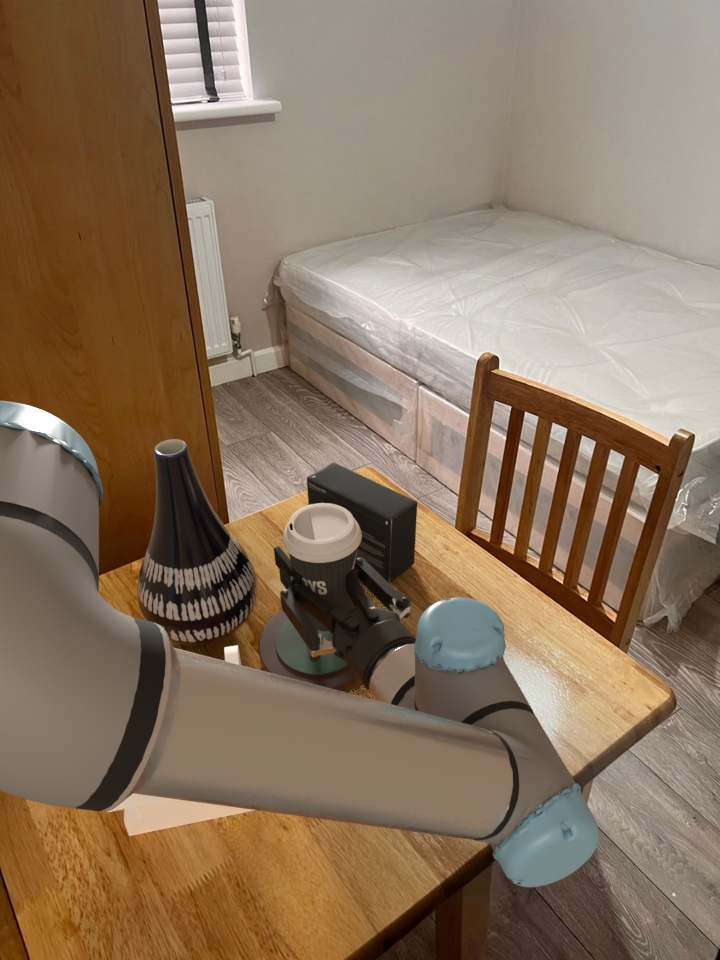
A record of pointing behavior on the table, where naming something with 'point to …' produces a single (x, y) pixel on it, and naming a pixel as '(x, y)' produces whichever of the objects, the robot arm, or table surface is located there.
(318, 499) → the box
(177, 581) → the vase
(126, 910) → the table surface
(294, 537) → the coffee cup
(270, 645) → the paper towel holder
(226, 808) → the white stand
